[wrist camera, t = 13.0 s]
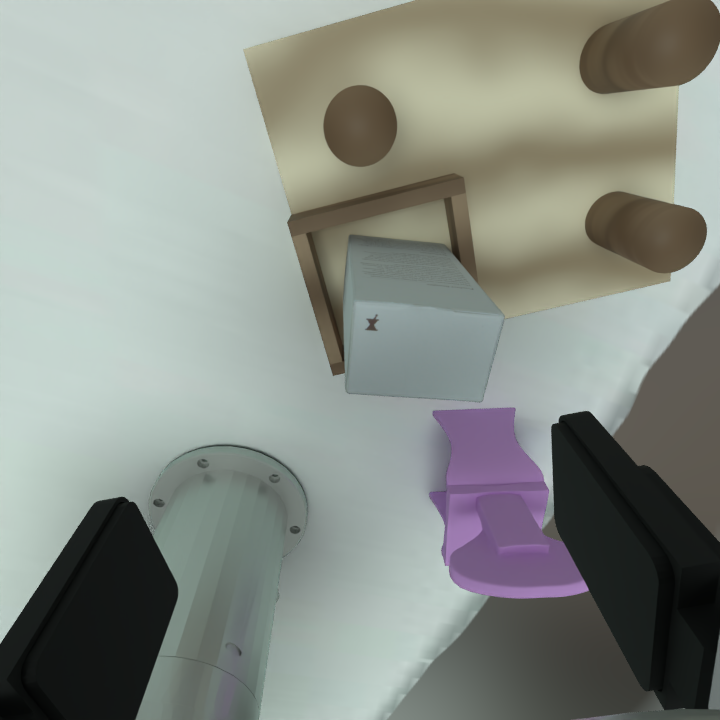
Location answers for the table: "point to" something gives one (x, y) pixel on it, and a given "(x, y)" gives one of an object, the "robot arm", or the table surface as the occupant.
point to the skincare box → (415, 322)
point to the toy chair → (498, 512)
